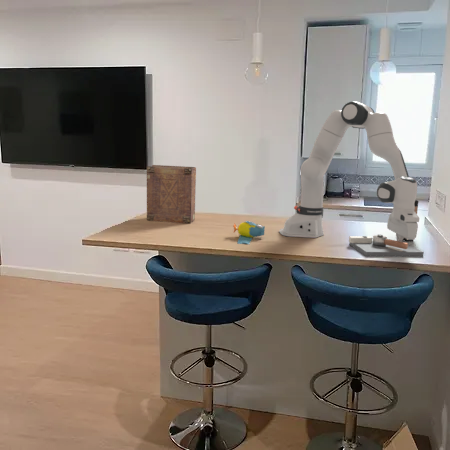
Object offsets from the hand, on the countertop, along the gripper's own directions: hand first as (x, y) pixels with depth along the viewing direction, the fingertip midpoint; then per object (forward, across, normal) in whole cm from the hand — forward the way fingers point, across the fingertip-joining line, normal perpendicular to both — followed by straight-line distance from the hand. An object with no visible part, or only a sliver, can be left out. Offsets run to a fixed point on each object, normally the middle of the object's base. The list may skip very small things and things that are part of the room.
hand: (399, 244), depth 212 cm
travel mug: (+5, -23, +16) cm, 28 cm away
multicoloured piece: (+2, -2, -4) cm, 4 cm away
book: (+7, -68, -100) cm, 121 cm away
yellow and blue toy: (+6, -28, -63) cm, 69 cm away
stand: (+4, -4, -4) cm, 7 cm away
